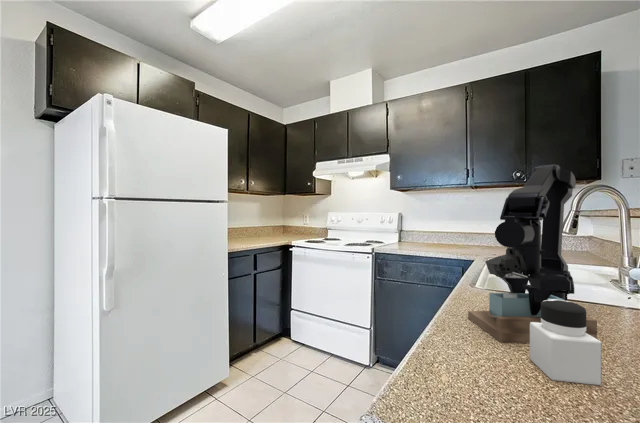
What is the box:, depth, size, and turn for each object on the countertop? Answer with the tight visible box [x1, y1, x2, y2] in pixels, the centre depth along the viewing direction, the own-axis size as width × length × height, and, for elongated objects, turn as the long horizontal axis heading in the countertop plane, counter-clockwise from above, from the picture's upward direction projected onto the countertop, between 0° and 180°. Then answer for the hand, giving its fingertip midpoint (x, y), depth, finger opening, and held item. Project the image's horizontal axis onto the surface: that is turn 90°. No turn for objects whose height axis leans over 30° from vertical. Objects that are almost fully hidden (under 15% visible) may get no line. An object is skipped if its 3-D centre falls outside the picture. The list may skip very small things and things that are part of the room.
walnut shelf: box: [467, 310, 598, 344], centre depth 68 cm, size 20×14×5 cm
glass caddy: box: [488, 291, 564, 317], centre depth 68 cm, size 14×5×6 cm, turn 89°
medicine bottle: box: [529, 299, 602, 386], centre depth 50 cm, size 7×7×12 cm
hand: (525, 310), depth 68 cm, fingers closed on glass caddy, 5 cm apart
